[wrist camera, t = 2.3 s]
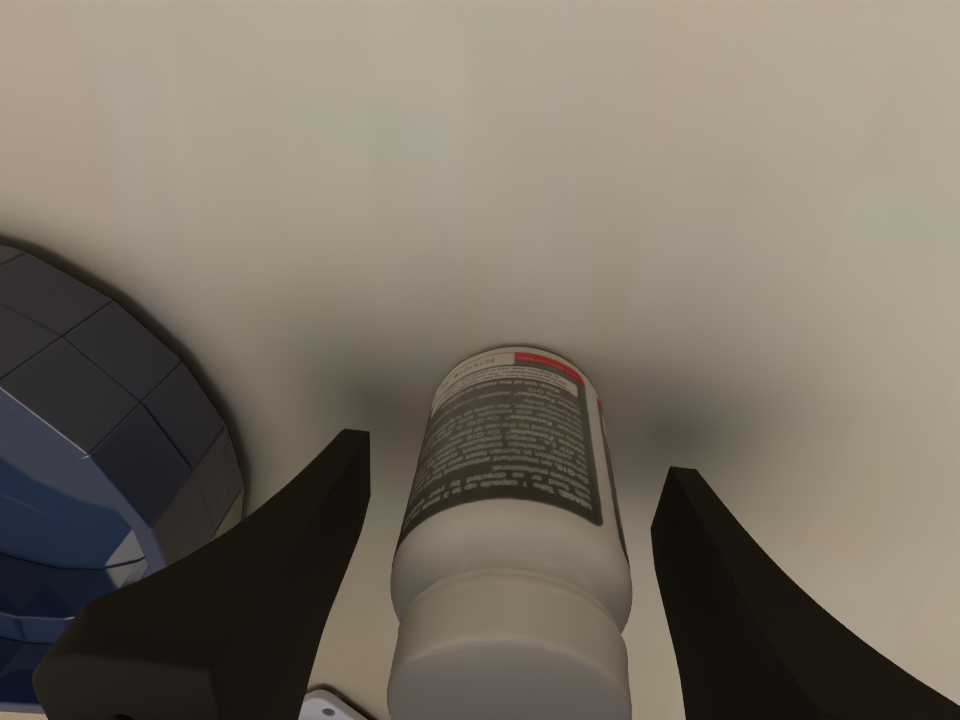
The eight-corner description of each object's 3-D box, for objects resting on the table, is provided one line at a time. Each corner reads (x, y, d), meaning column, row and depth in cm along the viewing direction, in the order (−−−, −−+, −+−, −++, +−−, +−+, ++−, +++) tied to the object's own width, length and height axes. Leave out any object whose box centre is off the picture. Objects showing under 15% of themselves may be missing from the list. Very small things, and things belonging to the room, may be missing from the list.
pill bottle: (398, 398, 17) (297, 688, 10) (536, 308, 15) (537, 581, 8) (500, 503, 19) (477, 816, 12) (635, 433, 17) (708, 750, 10)
